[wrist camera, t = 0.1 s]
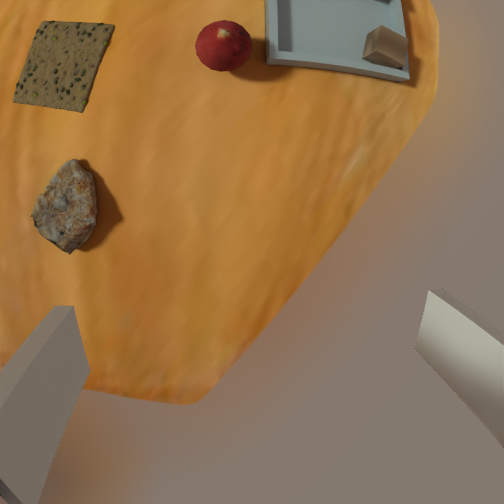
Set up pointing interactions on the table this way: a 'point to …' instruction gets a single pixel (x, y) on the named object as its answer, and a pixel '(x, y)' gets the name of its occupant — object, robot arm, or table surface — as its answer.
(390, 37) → the walnut cube
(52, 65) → the speckled stone tile
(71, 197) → the rock
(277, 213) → the table surface
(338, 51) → the dish
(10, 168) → the table surface
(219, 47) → the onion
